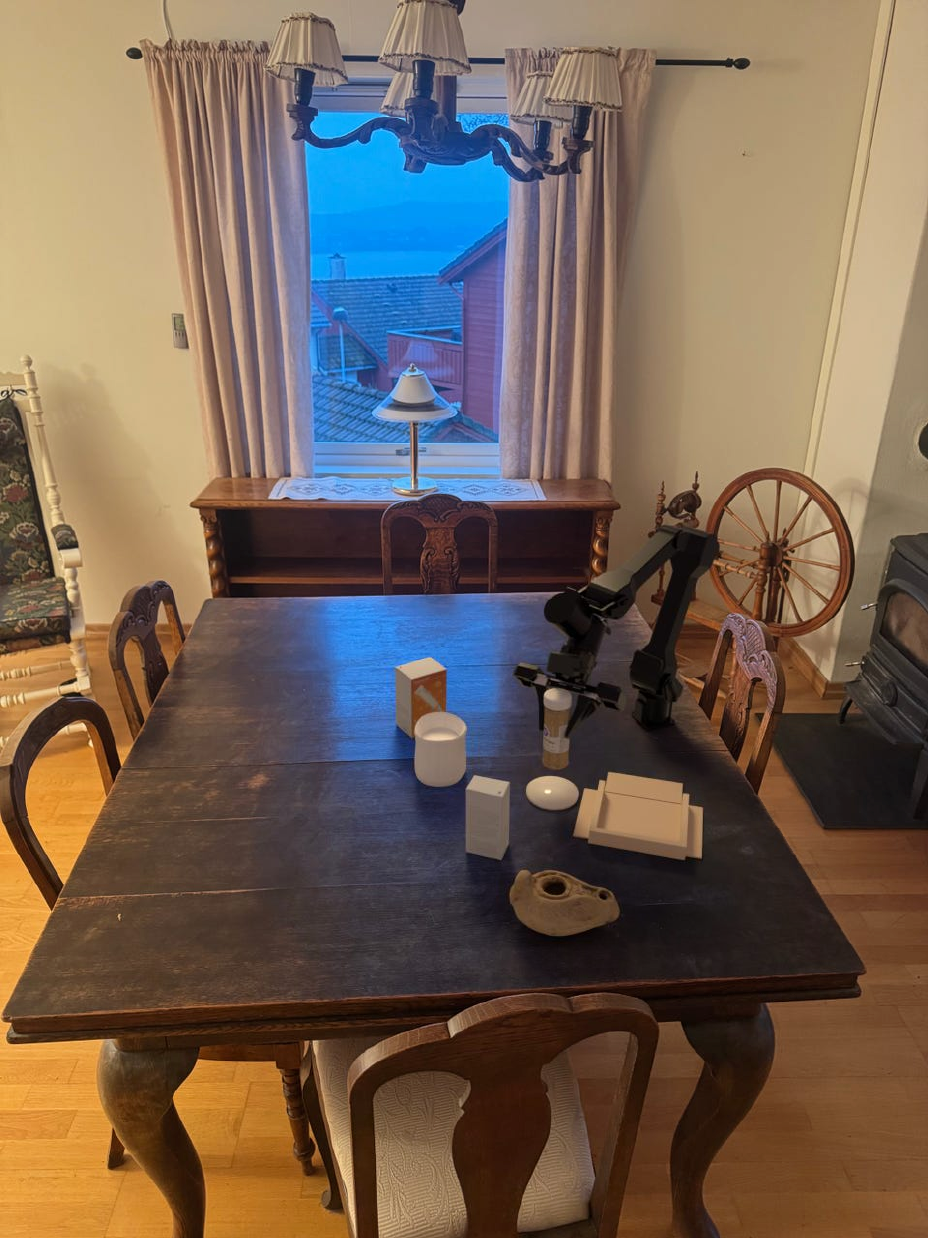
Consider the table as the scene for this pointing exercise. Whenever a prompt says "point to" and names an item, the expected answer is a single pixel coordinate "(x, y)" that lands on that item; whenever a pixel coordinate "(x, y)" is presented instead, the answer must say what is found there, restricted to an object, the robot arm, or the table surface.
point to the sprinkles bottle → (556, 728)
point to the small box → (419, 692)
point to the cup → (440, 749)
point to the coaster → (552, 793)
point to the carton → (641, 817)
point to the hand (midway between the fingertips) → (553, 734)
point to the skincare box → (487, 817)
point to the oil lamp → (560, 903)
